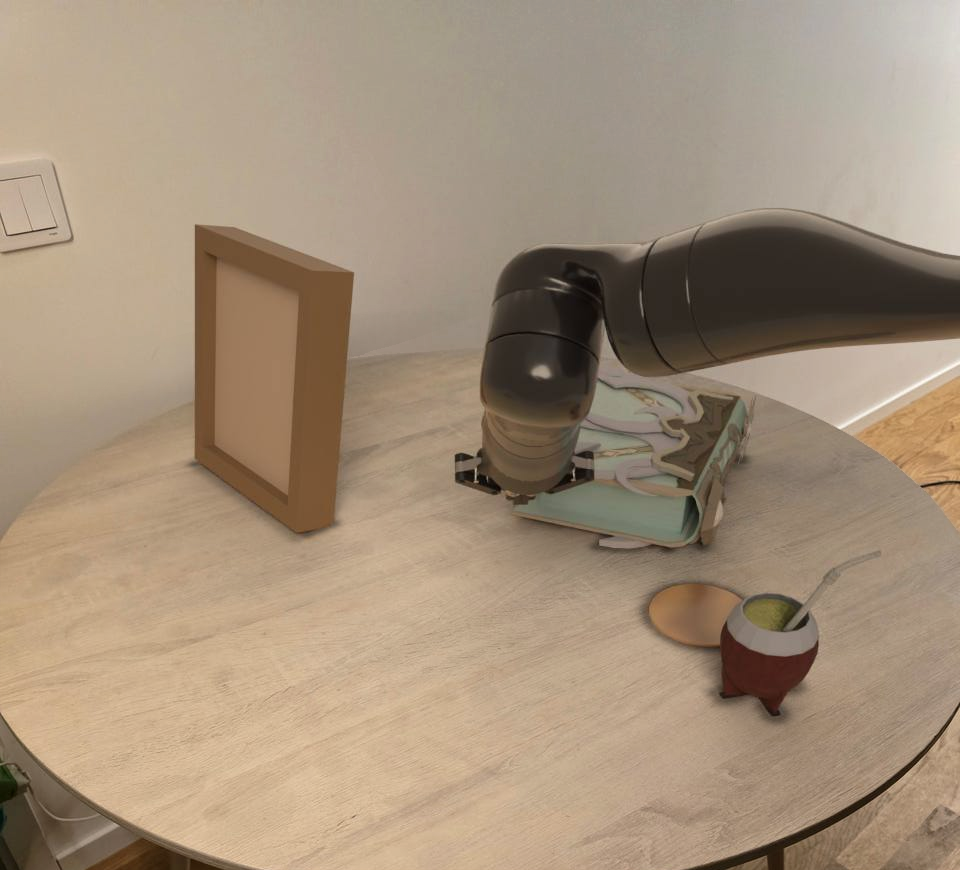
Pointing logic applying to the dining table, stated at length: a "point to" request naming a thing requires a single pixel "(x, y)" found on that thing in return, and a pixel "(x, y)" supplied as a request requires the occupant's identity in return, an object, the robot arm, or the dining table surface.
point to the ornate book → (651, 462)
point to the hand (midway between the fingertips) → (520, 494)
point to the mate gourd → (773, 642)
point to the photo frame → (270, 371)
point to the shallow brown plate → (692, 613)
